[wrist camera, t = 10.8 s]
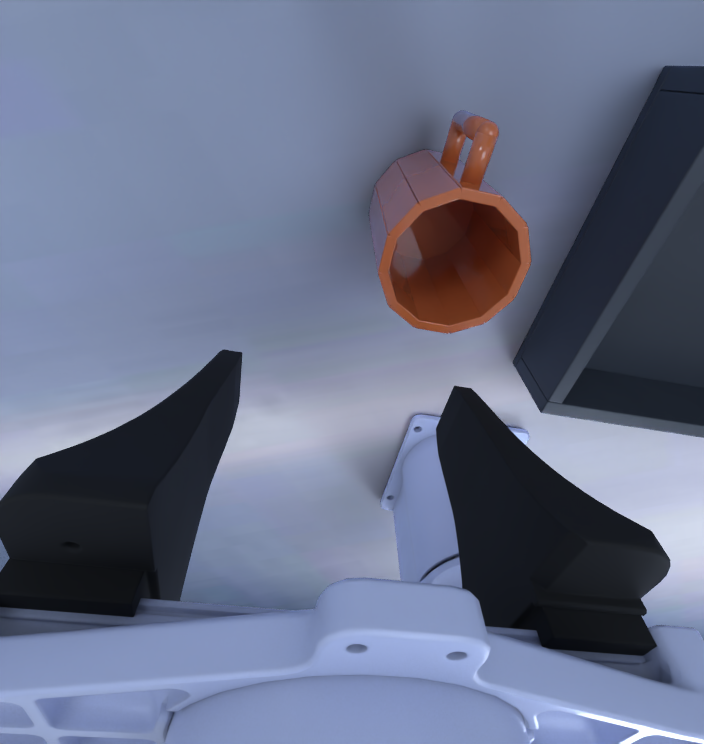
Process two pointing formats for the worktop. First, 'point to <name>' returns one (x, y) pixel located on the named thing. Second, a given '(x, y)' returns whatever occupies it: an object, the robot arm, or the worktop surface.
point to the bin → (634, 282)
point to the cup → (448, 234)
